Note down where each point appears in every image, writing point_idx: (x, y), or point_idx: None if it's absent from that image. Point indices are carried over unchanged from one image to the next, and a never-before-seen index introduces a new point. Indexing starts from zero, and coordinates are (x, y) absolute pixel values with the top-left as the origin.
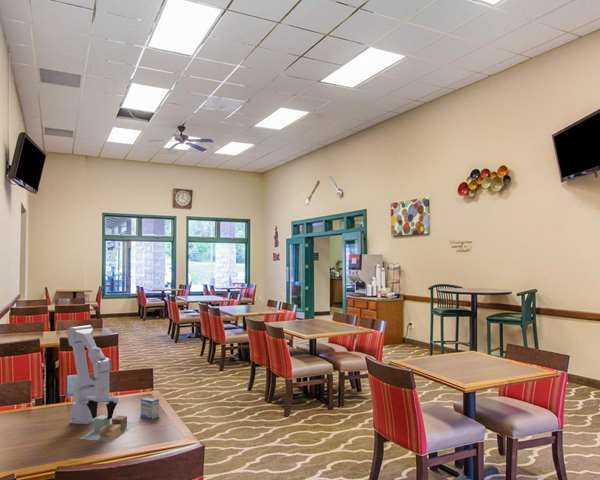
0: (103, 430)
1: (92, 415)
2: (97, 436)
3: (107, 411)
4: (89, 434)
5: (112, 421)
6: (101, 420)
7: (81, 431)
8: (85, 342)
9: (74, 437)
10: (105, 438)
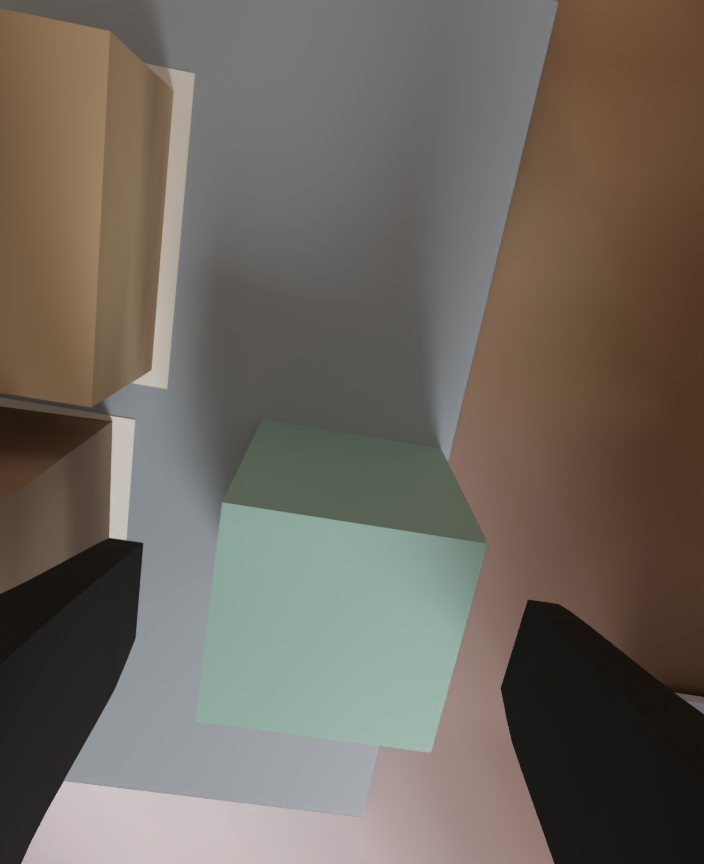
0: (10, 21)
1: (583, 637)
2: (241, 141)
3: (16, 640)
4: (442, 245)
5: (10, 479)
6: (286, 497)
7: (653, 433)
8: None
9: (685, 150)
10: None
